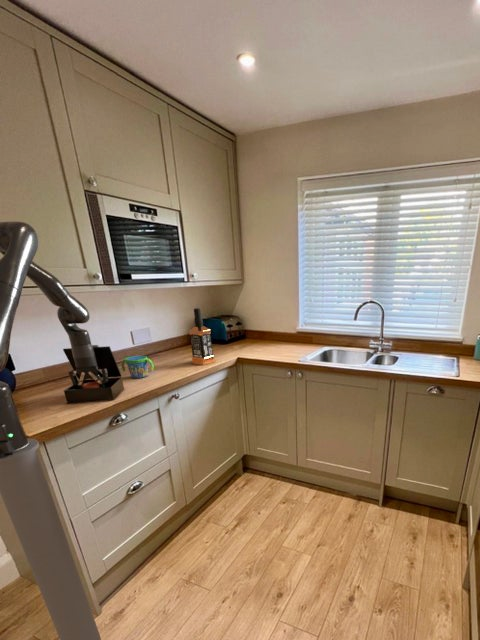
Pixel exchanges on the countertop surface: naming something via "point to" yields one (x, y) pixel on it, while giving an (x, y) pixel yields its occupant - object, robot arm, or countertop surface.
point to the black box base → (94, 391)
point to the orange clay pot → (91, 385)
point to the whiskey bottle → (201, 341)
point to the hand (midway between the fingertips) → (93, 392)
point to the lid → (99, 360)
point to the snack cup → (137, 366)
